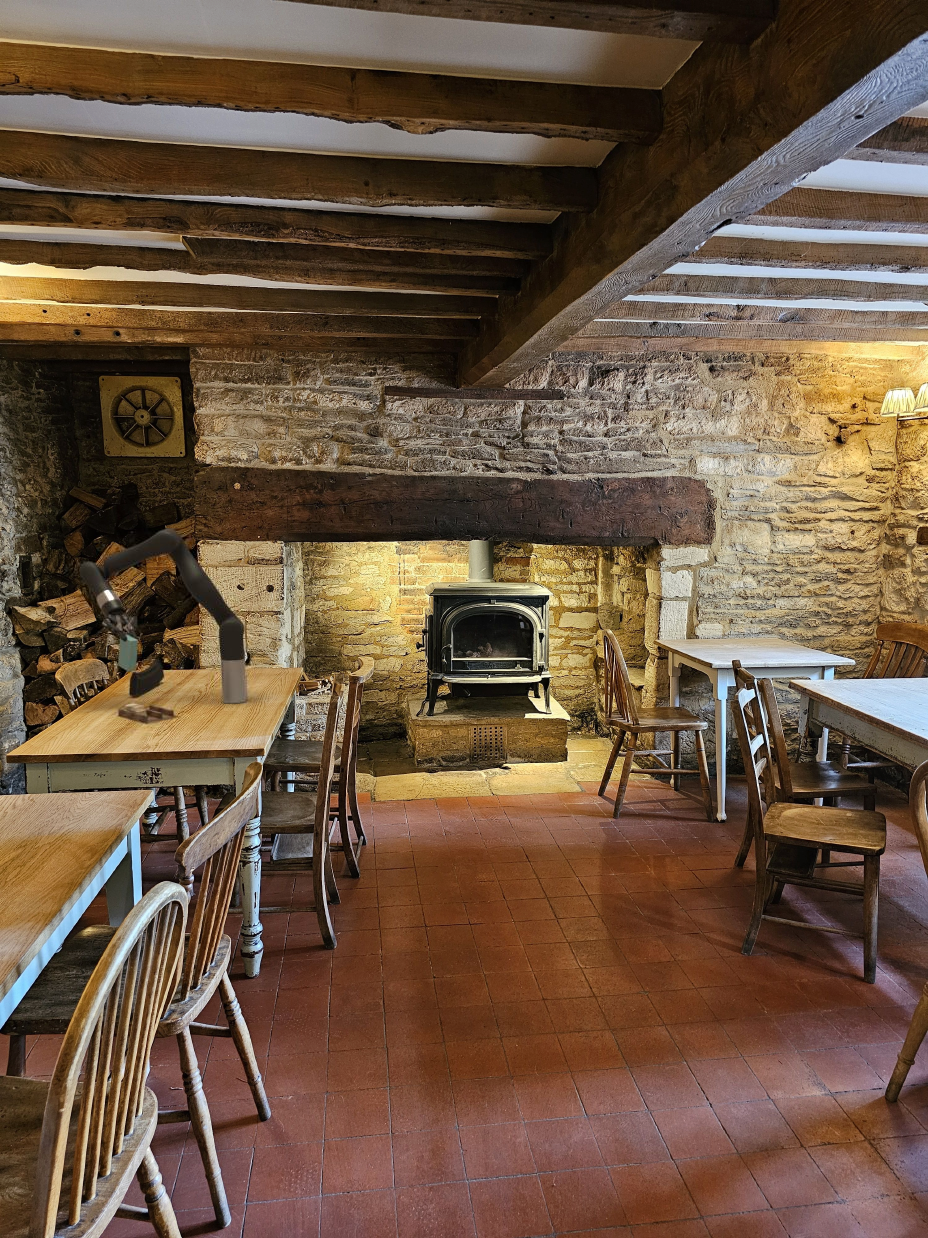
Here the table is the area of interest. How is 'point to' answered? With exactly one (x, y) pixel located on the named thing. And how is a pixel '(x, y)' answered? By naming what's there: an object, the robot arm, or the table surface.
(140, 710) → the offcut stack
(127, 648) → the teal board
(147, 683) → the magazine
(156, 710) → the walnut rack
